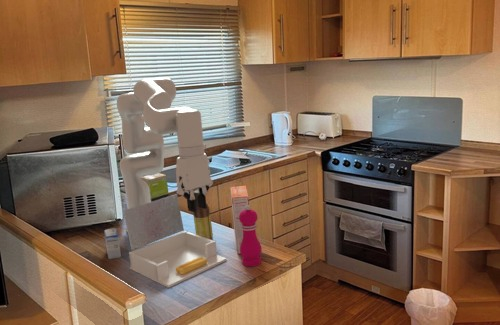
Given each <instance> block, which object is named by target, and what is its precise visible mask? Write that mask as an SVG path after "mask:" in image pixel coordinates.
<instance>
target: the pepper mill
mask: <svg viewBox="0 0 500 325" xmlns="http://www.w3.org/2000/svg"><path fill="white" fill-rule="evenodd" d="M239 220H240V222H241V223H242V224H241V226H242V227H241V229H242V230H243V239H242V242H241V245H240V254H239V255H241V256H242V258H241V262H242V265H244V266H246V267H255V266H259V265H260V264H261V263H262V256H261V254H262V251H263V250H262V249H263V248H262V245H261V243H260V241H259V239H258V237H257V233H256V230H257V223H256V222H257V221H258V214H257V212H256V211H255V210H254V209H251V206H250V204H249V205H246V206H245V210H243V211H242V212H241V213H240V215H239Z"/></svg>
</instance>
